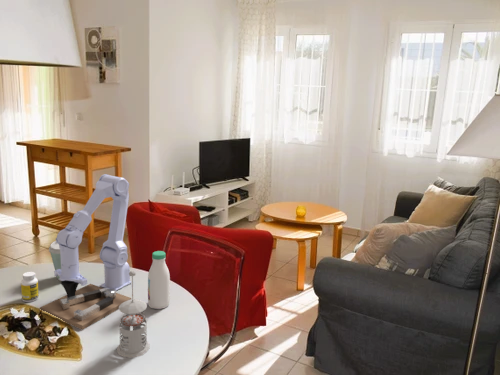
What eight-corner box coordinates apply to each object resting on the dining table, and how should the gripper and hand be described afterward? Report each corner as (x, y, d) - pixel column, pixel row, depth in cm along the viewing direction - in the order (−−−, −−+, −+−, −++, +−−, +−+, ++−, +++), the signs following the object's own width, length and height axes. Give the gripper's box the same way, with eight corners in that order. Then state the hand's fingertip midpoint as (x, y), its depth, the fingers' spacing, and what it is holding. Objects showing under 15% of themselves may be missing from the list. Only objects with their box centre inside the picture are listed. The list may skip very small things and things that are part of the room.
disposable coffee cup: (83, 278, 170) (82, 243, 167) (56, 286, 163) (54, 250, 159) (72, 270, 177) (71, 236, 174) (46, 277, 170) (43, 242, 166)
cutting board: (90, 287, 164) (90, 283, 163) (131, 301, 154) (131, 298, 154) (39, 311, 145) (39, 307, 144) (82, 329, 135) (82, 325, 135)
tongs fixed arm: (105, 300, 151) (105, 295, 151) (113, 303, 149) (113, 298, 149) (74, 317, 139) (73, 311, 139) (82, 321, 138) (82, 314, 137)
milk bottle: (173, 302, 155) (174, 251, 151) (161, 311, 148) (161, 258, 144) (156, 297, 158) (156, 247, 154) (143, 306, 152) (143, 254, 147)
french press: (118, 360, 121) (116, 280, 115) (114, 338, 131) (112, 264, 126) (152, 353, 125) (152, 275, 119) (146, 332, 135) (145, 260, 130)
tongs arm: (111, 291, 158) (111, 285, 157) (117, 298, 153) (117, 291, 152) (60, 305, 146) (60, 298, 146) (65, 312, 142) (65, 305, 141)
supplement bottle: (31, 303, 150) (30, 278, 147) (18, 301, 151) (16, 276, 148) (42, 296, 155) (40, 271, 153) (29, 294, 156) (27, 269, 154)
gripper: (45, 261, 146) (47, 297, 149) (74, 271, 140) (76, 309, 143) (63, 255, 152) (64, 290, 155) (91, 264, 146) (92, 300, 149)
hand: (71, 298), depth 149 cm, fingers closed
